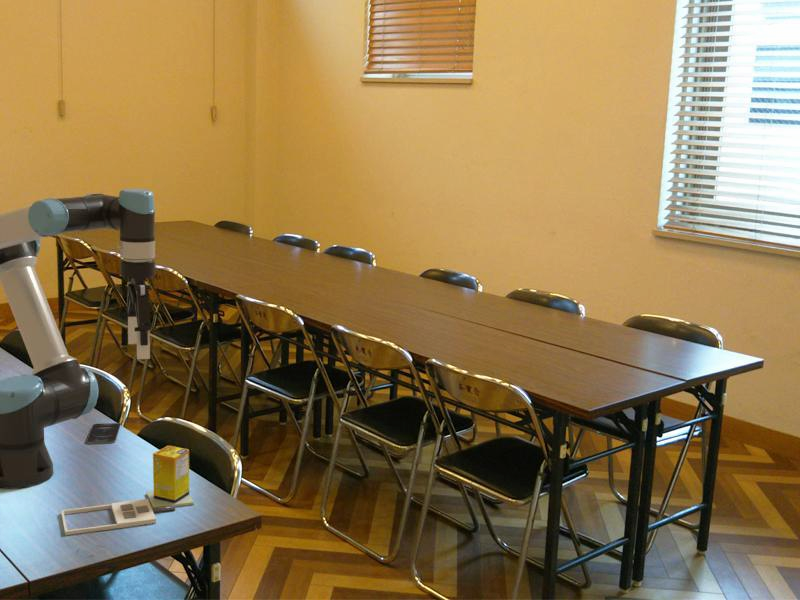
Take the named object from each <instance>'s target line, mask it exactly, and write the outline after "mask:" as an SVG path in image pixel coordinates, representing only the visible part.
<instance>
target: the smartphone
mask: <svg viewBox="0 0 800 600" xmlns="http://www.w3.org/2000/svg"><path fill="white" fill-rule="evenodd" d="M120 428H121V423H118V422H117V423H111V422H110V423H94V424H92V426H91V428H90V431H89V433H88V435H87V438H86V444H88V445H104V444H105V445H108V444H109V445H110V444H114V443H116V441H117V438H118V435H119V432H120Z"/></svg>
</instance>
